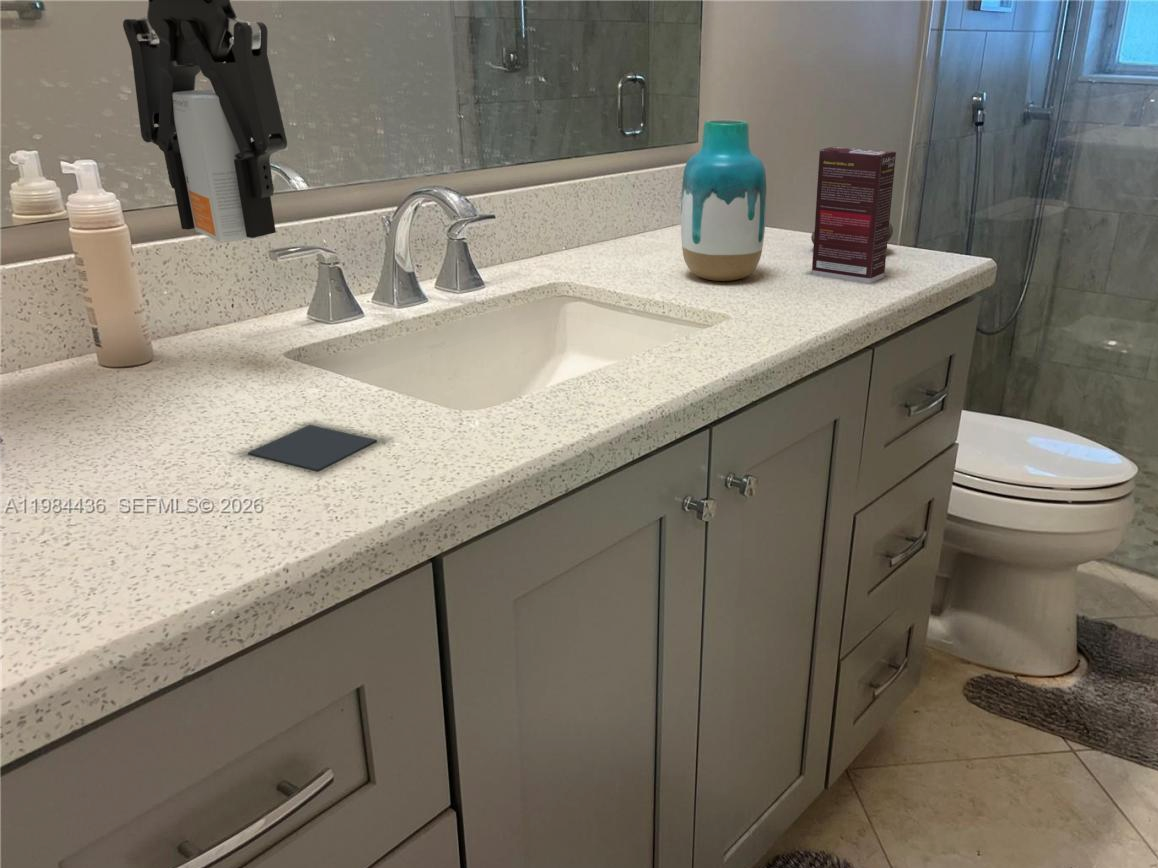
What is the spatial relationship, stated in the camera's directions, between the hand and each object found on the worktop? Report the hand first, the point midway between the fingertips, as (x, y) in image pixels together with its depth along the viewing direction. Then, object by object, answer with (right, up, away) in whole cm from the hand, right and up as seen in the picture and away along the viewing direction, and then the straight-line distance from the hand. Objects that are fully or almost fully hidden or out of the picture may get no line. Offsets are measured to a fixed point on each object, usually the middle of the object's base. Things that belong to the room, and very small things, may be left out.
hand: (228, 230), depth 93 cm
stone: (+65, +11, +55) cm, 86 cm away
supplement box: (+62, +5, +42) cm, 76 cm away
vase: (+46, +4, +40) cm, 61 cm away
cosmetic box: (0, -1, 0) cm, 1 cm away
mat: (+12, -20, -12) cm, 26 cm away
